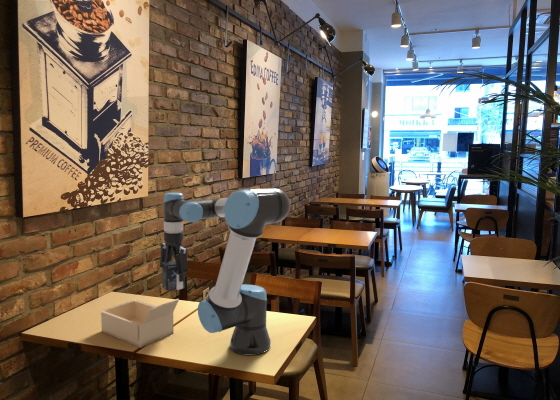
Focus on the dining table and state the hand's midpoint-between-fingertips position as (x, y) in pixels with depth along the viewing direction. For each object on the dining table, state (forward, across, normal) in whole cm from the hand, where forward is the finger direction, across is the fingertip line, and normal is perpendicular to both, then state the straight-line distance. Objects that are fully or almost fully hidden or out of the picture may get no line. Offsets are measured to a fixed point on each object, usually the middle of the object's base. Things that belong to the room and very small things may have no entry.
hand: (173, 286), depth 180 cm
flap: (+9, -5, +11) cm, 15 cm away
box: (+1, 0, 0) cm, 1 cm away
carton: (+18, +8, +12) cm, 23 cm away
